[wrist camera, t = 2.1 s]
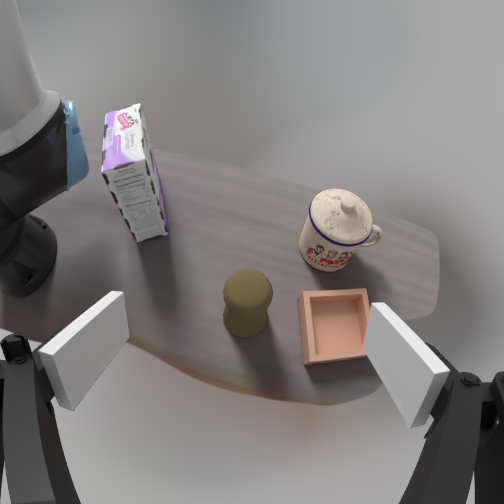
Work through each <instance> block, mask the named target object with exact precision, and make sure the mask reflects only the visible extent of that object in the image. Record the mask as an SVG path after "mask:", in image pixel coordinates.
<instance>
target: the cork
mask: <svg viewBox="0 0 504 504" xmlns="http://www.w3.org/2000/svg"><path fill="white" fill-rule="evenodd" d="M223 294H224V301H225V303H226V306H225V309H224V313H223V321H224V324H225V326H226V328H227V329H228V330H229V332H230V333H231V334H233V335H235V336H237V337H241V338H251V337H254V336H256V335H258V334H259V333H260V332H261V331H262V330H263V329H264V327H265V326H266V323H267V318H268V317H267V308H268V307H269V305H270V303H271V301H272V296H273V291H272V285H271V283H270V281H269V280H268V278H267V277H266V276H265V275H264V274H263V273H261V272H259V271H257V270H254V269H241V270H239V271H236V272H235V273H233V274H232V275H231V276H230V277H229V278H228V280H227V281H226V283H225V285H224V290H223Z"/></svg>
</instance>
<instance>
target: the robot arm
mask: <svg viewBox="0 0 504 504" xmlns="http://www.w3.org/2000/svg"><path fill="white" fill-rule="evenodd" d="M88 172H89V162H88V159H87V155H86V151H85V148H84V144H83V140H82V136H81V133H80V128H79V123H78V119H77V114H76V110H75V105H74V102H73V101H65V102H64V103H63V104H62V102H61V99H60V97H59V95H58V94H57V93H56V92H54V91H47V90H44V89H43V86H42V84H41V81H40V78H39V76H38V73H37V70H36V68H35V65H34V62H33V59H32V56H31V53H30V50H29V47H28V44H27V41H26V38H25V34H24V30H23V27H22V24H21V20H20V16H19V12H18V8H17V4H16V0H0V287H1V288H2V289H3V290H4V291H6V292H7V293H9V294H10V295H12V296H15V297H23V296H26V295H29V294H31V293H32V292H34V291H35V290H36V289H37V288H38V287H39V286H40V285H41V284H42V283H43V282H44V280H45V279H46V278H47V276H48V274H49V272H50V271H51V268H52V266H53V263H54V260H55V256H56V251H57V241H56V237H55V234H54V232H53V230H52V229H51V228H50V227H49V226H48V224H47V223H46V222H45V221H43V220H42V219H40V218H38V217H36V216H34V215H32V214H30V212H31V211H33V210H34V209H36V208H38V207H39V206H41V205H42V204H44V203H46V202H47V201H49V200H50V199H52V198H54V197H56V196H57V195H59V194H61V193H62V192H64V191H68V190H69V189H70V187H71V186H73V185H75V184H76V183H78V182H79V181H81V180H83V179H84V178H85V177H86V176H87V174H88ZM129 337H130V335H129V329H128V322H127V315H126V308H125V299H124V292H118V291H111V292H110V293H108V294H107V295H106V296H104V297H103V298H102V299H101V300H99V301H98V302H97V303H95V304H94V305H93V306H92V307H90V308H89V309H88V310H87V311H85V312H84V313H83V314H82V315H80V316H79V317H78V318H77V319H75V320H74V321H73V322H72V323H71V324H69V325H68V326H67V327H65V328H62V329H60V330H58V331H57V332H55V333H54V334H53V335H52V336H51V337H49V338H48V339H47V340H46V341H44V342H43V343H42V344H41V345H40V346H38V347H37V348H36V349H35V350H34V351H33V352H31V349H30V345H29V342H28V339H27V336H26V335H24V334H20V333H17V334H11V335H8V336H6V337H5V338H3V339H2V340H1V342H0V345H1V348H2V350H3V353H4V356H5V359H6V360H0V497H1V484H2V475H3V468H4V461H5V468H6V476H7V482H8V489H9V494H10V500H11V504H81V503H80V500H79V498H78V495H77V492H76V490H75V487H74V484H73V481H72V479H71V475H70V473H69V469H68V466H67V463H66V459H65V456H64V452H63V449H62V445H61V441H60V437H59V433H58V428H57V424H56V419H55V414H54V409H53V405H52V403H51V399H52V398H53V397H54V396H55V397H56V399H57V402H58V404H59V406H61V407H64V408H66V409H69V410H72V411H74V410H75V408H76V407H77V406H78V404H79V403H80V401H81V400H82V399H83V397H84V396H85V395H86V393H87V392H88V391H89V389H90V388H91V387H92V385H93V384H94V383H95V381H96V380H97V379H98V377H99V376H100V375H101V373H102V372H103V371H104V369H105V368H106V367H107V366H108V364H109V363H110V362H111V360H112V359H113V358H114V356H115V355H116V354H117V353H118V351H119V350H120V349H121V347H122V346H123V345H124V344H125V342H126V341H127V340H128V339H129ZM362 348H363V350H364V351H365V353H366V355H367V356H368V358H369V360H370V361H371V363H372V365H373V366H374V368H375V370H376V371H377V373H378V375H379V376H380V378H381V380H382V381H383V383H384V385H385V386H386V388H387V390H388V392H389V393H390V395H391V397H392V399H393V400H394V402H395V404H396V405H397V407H398V409H399V411H400V412H401V414H402V416H403V418H404V419H405V421H406V423H407V425H408V427H409V428H413V427H417V426H421V425H424V424H425V423H426V421H427V419H428V417H429V415H430V414H431V415H432V417H433V418H434V421H433V423H432V425H431V426H430V428H429V430H428V432H427V433H426V435H425V437H424V438H427V439H426V442H425V444H424V447H423V450H422V453H421V455H420V458H419V461H418V463H417V465H416V468H415V470H414V473H413V475H412V477H411V480H410V482H409V484H408V486H407V488H406V490H405V492H404V495H403V496H402V498H401V501H400V502H399V504H466V500H467V497H468V493H469V489H470V485H471V480H472V476H473V471H474V479H475V504H504V372H498V373H497V374H496V375H495V377H494V379H493V381H492V382H488V383H487V382H486V383H482V382H481V380H480V378H479V377H477V376H476V375H474V374H472V373H468V372H461V373H459V372H458V371H457V370H456V369H455V368H454V367H453V366H452V364H451V363H450V362H448V360H447V359H445V357H444V356H443V355H442V354H440V352H439V351H438V350H437V349H436V348H435V347H433V346H432V345H430V344H428V343H424V342H423V341H422V340H421V339H420V338H419V337H418V336H417V335H416V334H415V333H414V332H413V331H412V330H411V329H410V328H409V327H408V326H407V325H406V324H405V323H404V322H403V321H402V320H401V319H400V318H399V317H398V316H397V315H396V314H395V313H394V312H393V311H392V310H391V309H390V308H389V307H388V306H387V305H386V304H385V303H371V308H370V313H369V318H368V323H367V328H366V332H365V337H364V341H363V346H362ZM498 420H499V422H498V424H497V421H498Z"/></svg>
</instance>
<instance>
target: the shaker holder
mask: <svg viewBox="0 0 504 504" xmlns="http://www.w3.org/2000/svg"><path fill="white" fill-rule="evenodd" d="M298 310H299V320H300V331H301V342H302V353H303V365H307V364H317V363H327V362H335V361H343V360H350V359H357V358H364V357H368V356H367V355H366V353H365V351H364V350H363V348H362V346H363V341H364V337H365V332H366V328H367V323H368V318H369V313H370V307H369V301H368V296H367V291H366V288H361V289H344V290H325V291H303V292H302V294H301V295H300V297H299V299H298Z"/></svg>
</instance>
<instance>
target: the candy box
mask: <svg viewBox="0 0 504 504" xmlns="http://www.w3.org/2000/svg"><path fill="white" fill-rule="evenodd" d="M101 173H102V175H103V177H104V179H105V182H106V184H107V186H108V188H109V190H110V192H111V194H112V196H113V198H114V200H115V202H116V204H117V206H118V208H119V210H120V212H121V214H122V216H123V218H124V220H125V222H126V224H127V226H128V228H129V230H130V231H131V233H132V235H133V237H134V239H135V241H136V242H141V241H145V240H149V239H153V238H157V237H161V236H165V235H168V233H169V230H168V224H167V219H166V213H165V208H164V202H163V197H162V191H161V186H160V179H159V173H158V169H157V165H156V161H155V158H154V154H153V150H152V147H151V142H150V139H149V135H148V130H147V127H146V122H145V119H144V115H143V111H142V106H141V104H140V103H139V104H136V105H132V106H128V107H125V108H122V109H119V110H116V111H113V112H110V113H107V114H106V117H105V127H104V139H103V153H102V170H101Z"/></svg>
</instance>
